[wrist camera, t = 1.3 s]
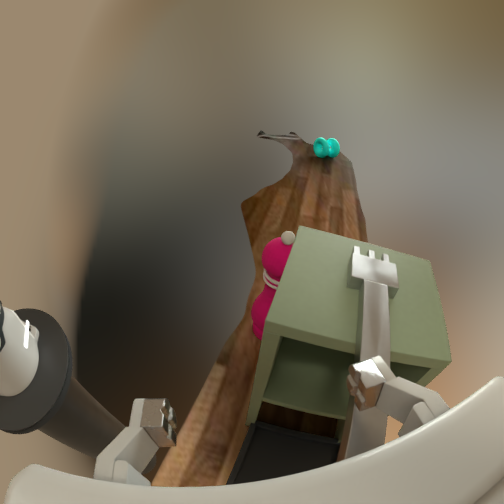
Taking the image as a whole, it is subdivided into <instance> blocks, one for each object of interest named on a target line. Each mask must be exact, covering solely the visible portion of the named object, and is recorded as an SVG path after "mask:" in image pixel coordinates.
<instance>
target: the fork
mask: <svg viewBox="0 0 504 504" xmlns="http://www.w3.org/2000/svg"><path fill="white" fill-rule="evenodd" d="M347 287H349V288H353V289H356V290H359V303H358V321H357V334H356V346H355V356H354V363H357V362H360V361H363V360H366V359H370V358H373V357H376V356H381V357H382V359H383V360H384V361H385V363H386V364H387V365H388V367H389V368H390V313H389V298H392V299H393V298H394V297H395V295H396V293H397V291H398V289H399V283H398V276H397V269H396V264H393V263H390V262H389V256H388V255H387V254H382V256H381V260H379V259H375V252H374V251H372V250H368V252H367V256H364V255H360V247H357V246H354V247H353V250H352V255H351V258H350V260H349V263H348V278H347ZM354 400H355V397H354V396H352V395H349V401H348V408H347V413H346V419H345V425H344V430H343V435H342V440H341V444H340V449H339V453H338V458H337V462H339V461H342V460H345V459H348V458H351V457H354V456H357V455H359V454H362V453H364V452H367V451H369V450H372V449H374V448H377V447H379V446H382V445H384V442H385V435H386V426H387V416H388V414H386V413H384V412H383V411H381V410H380V409H378V408H376V406H374V407H372V408H369V409H366V410H363V411H360V412H359V410H358V408H357V406H356V404H355V403H354Z"/></svg>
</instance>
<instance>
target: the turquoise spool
mask: <svg viewBox="0 0 504 504" xmlns="http://www.w3.org/2000/svg"><path fill="white" fill-rule="evenodd" d="M330 146H331V149H330ZM313 149H314V152H315V154H316V156H318V157H319V158H324V157H326V156H327V155H328V156H329V157H331V158H334V157H336V156H337V155H338V154H339V151H340V146H339V143H338V141H337V140H336V139H334V138H329V139H327V140H325V139H324V138H317V139H316V140H315V142H314V145H313Z"/></svg>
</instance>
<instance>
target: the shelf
mask: <svg viewBox="0 0 504 504" xmlns="http://www.w3.org/2000/svg"><path fill="white" fill-rule="evenodd" d="M354 246H357V247H360V255H364V256H367V252H368V250H372V251H374V252H375V259H379V260H381V256H382V254H387V255H388V256H389V262H390V263H393V264H396V269H397V276H398V283H399V289H398V291H397V293H396V295H395V297H394V298H393V299H392V298H389V313H390V370H391V371H392V372H393V374H394V375H395V376H396V378H397V377H401V378H403V379H406V380H408V381H411V382H413V383H416V384H418V385H420V386H423V387H425V386H426V385H427V384H428V383H430V382H431V381H432V380H433V379H434V378H435V377H436V376H437V375H438V374H439V373H441V372H442V371H443V369H444V368H446V367H447V365H449V364H450V363H451V361H452V360H451V353H450V346H449V340H448V334H447V329H446V324H445V319H444V314H443V310H442V305H441V301H440V297H439V293H438V289H437V285H436V281H435V278H434V274H433V271H432V267H431V264H430V261H428V260H425V259H421V258H418V257H414V256H411V255H408V254H404V253H401V252H397V251H394V250H390V249H387V248H383V247H380V246H376V245H372V244H369V243H365V242H361V241H358V240H354V239H350V238H346V237H343V236H339V235H335V234H331V233H327V232H323V231H319V230H315V229H311V228H307V227H303V226H299V228H298V231H297V234H296V237H295V240H294V243H293V246H292V248H291V251H290V254H289V257H288V260H287V263H286V265H285V268H284V271H283V274H282V276H281V279H280V282H279V285H278V287H277V290H276V293H275V295H274V298H273V301H272V304H271V306H270V309H269V311H268V314H267V317H266V319H265V324H264V330H263V335H262V341H261V346H260V352H259V357H258V363H257V368H256V373H255V378H254V383H253V389H252V394H251V399H250V404H249V409H248V414H247V419H246V424H245V425H246V426H250V424H251V423H255V421H256V419H257V416H258V414H259V411H260V408H261V405H262V403H263V401H265V402H268V403H272V404H275V405H279V406H283V407H287V408H291V409H295V410H299V411H303V412H307V413H312V414H316V415H321V416H326V417H331V418H337V419H338V422H337V427H336V432H335V436H334V438H336V439H338V443H341V440H342V435H343V430H344V425H345V419H346V413H347V408H348V401H349V395H350V393H349V391H348V388H347V383H346V380H347V376H348V375H349V374H350V373H349V371H348V369H349V366H350V365H351V364H354V356H355V346H356V334H357V321H358V303H359V290H356V289H353V288H349V287H347V278H348V263H349V260H350V258H351V255H352V250H353V247H354ZM388 416H389V415H388Z"/></svg>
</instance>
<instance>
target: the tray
mask: <svg viewBox="0 0 504 504" xmlns="http://www.w3.org/2000/svg"><path fill="white" fill-rule="evenodd" d="M340 444H341V443H338V439H336V438H330V437H325V436H319V435H314V434H309V433H305V432H300V431H296V430H291V429H287V428H283V427H279V426H276V425H272V424H268V423H265V422H261V421H258V420H256V421H255V423H251V424H250V427H249V429H248V432H247V434H246V437H245V440H244V442H243V445H242V447H241V450H240V452H239V455H238V457H237V459H236V462H235V464H234V467H233V469H232V472H231V474H230V476H229V479H228V481H227V483H226V485H232V484H241V483H249V482H256V481H262V480H268V479H273V478H278V477H283V476H288V475H293V474H297V473H301V472H305V471H309V470H313V469H316V468H320V467H323V466H327V465H330V464H333V463H336V462H337V458H338V453H339V449H340Z"/></svg>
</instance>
